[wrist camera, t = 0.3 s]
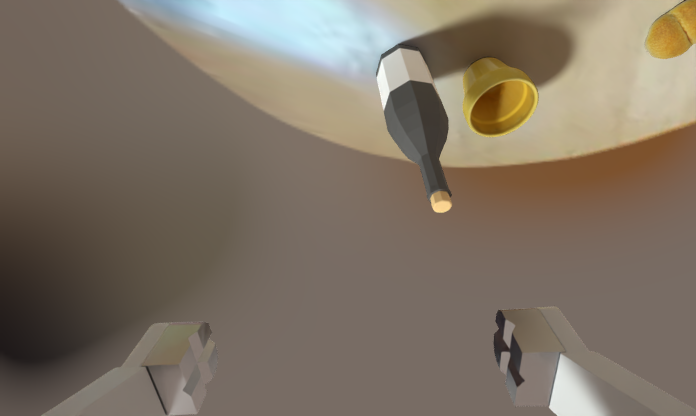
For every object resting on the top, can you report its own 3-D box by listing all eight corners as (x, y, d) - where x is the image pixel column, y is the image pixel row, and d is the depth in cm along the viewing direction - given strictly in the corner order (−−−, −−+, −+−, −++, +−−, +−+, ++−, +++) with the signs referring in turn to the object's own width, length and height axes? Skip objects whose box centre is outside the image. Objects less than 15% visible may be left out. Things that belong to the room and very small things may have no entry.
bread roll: (634, 31, 59) (649, 43, 56) (701, -17, 54) (721, -7, 51) (651, 64, 63) (666, 76, 60) (715, 22, 58) (734, 33, 56)
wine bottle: (397, 32, 56) (442, 168, 37) (436, 60, 60) (496, 197, 40) (365, 75, 61) (390, 215, 41) (403, 98, 65) (442, 238, 45)
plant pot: (515, 92, 65) (537, 126, 59) (455, 110, 67) (470, 145, 61) (515, 35, 58) (541, 68, 51) (448, 58, 60) (464, 91, 53)
